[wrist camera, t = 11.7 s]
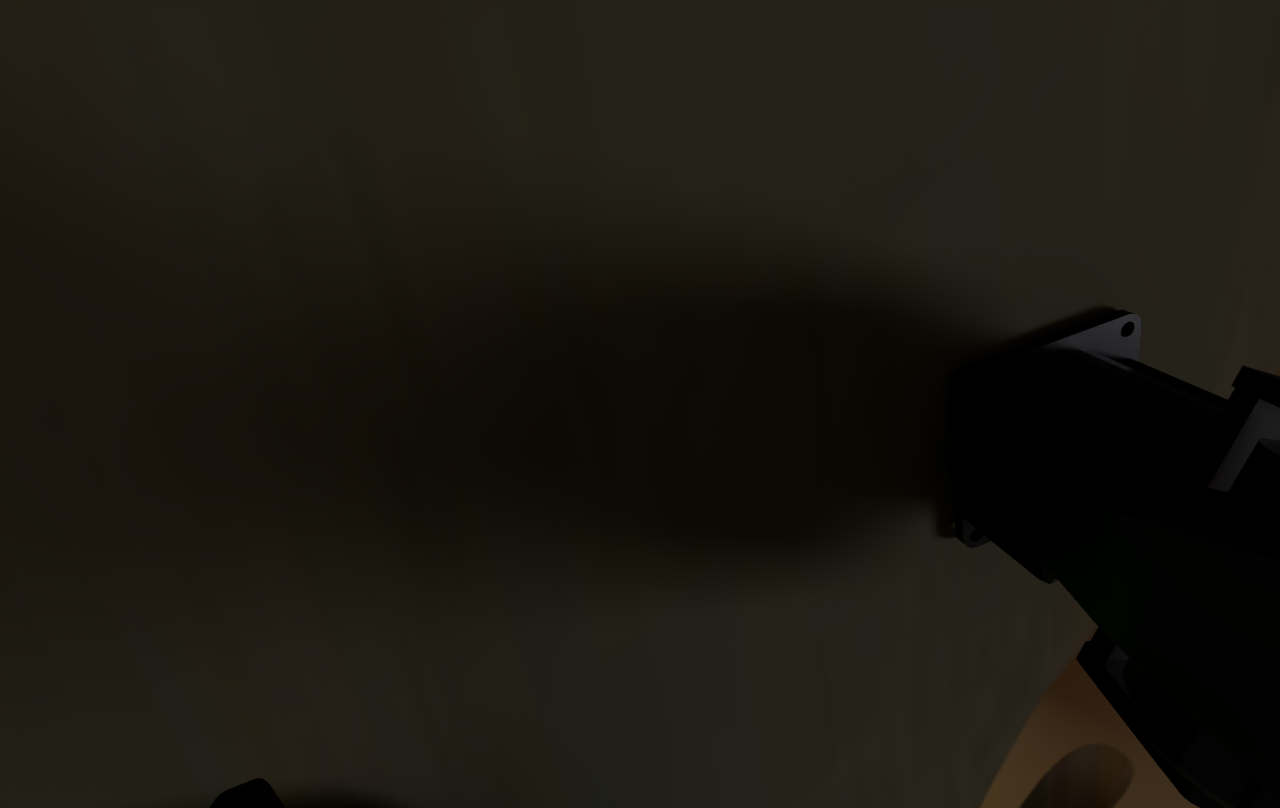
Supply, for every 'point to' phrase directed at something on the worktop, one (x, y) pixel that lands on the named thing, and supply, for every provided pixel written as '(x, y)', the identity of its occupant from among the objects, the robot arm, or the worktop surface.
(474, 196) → the worktop surface
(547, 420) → the worktop surface
